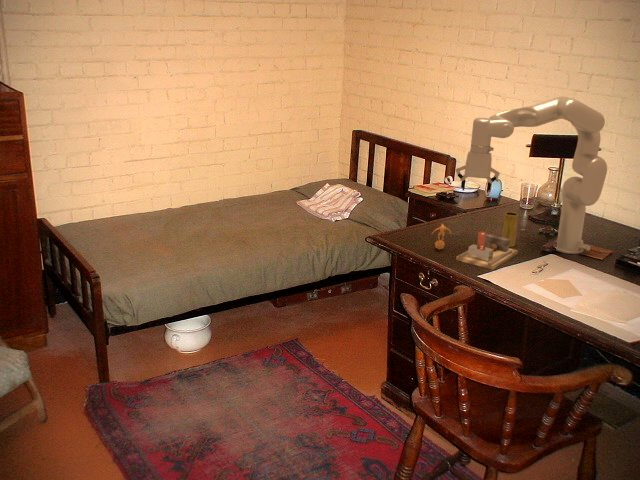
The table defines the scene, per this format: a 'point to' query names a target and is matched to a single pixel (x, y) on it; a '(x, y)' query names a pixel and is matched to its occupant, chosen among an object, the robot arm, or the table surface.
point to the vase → (510, 227)
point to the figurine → (439, 243)
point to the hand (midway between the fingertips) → (475, 190)
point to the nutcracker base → (499, 253)
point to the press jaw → (481, 248)
